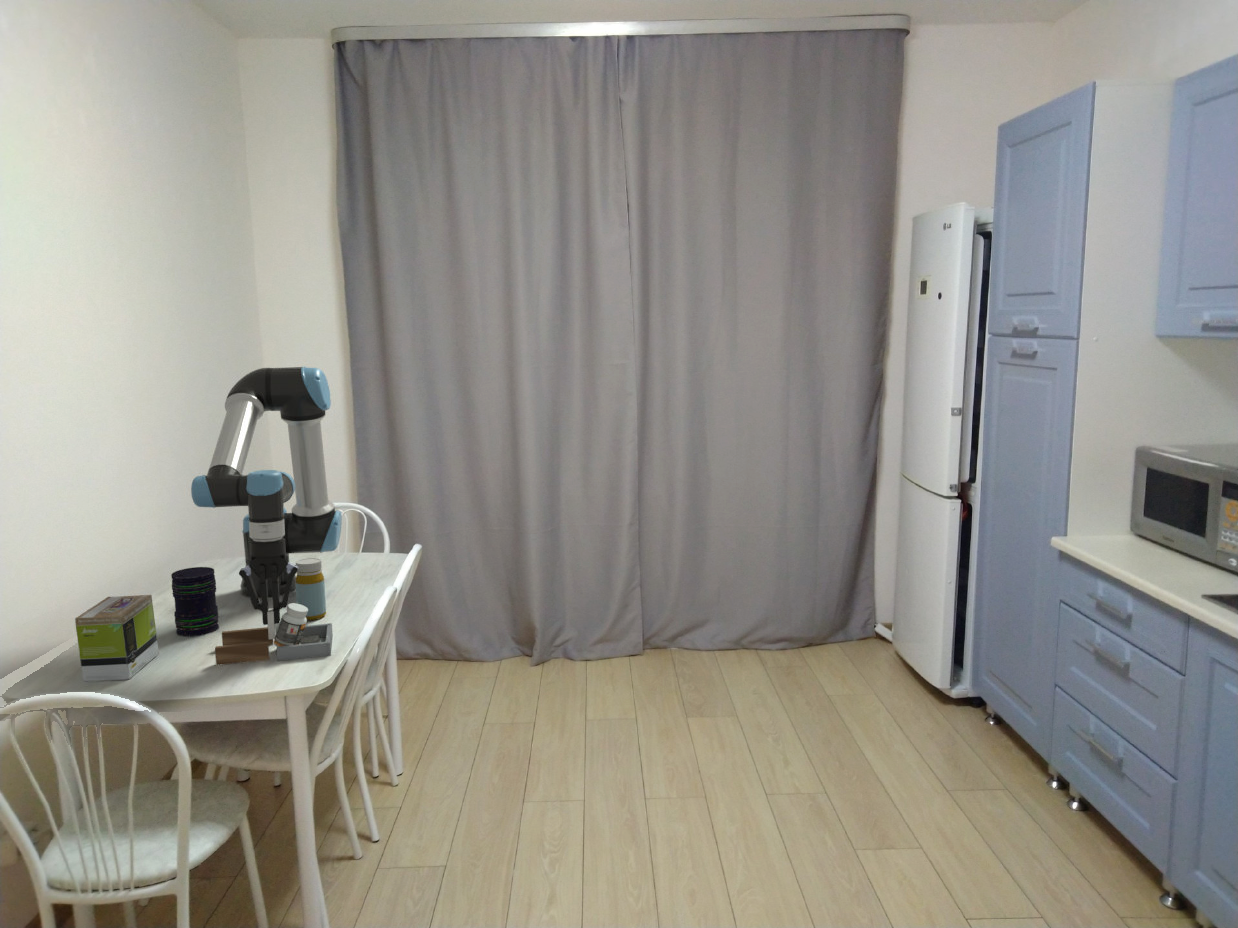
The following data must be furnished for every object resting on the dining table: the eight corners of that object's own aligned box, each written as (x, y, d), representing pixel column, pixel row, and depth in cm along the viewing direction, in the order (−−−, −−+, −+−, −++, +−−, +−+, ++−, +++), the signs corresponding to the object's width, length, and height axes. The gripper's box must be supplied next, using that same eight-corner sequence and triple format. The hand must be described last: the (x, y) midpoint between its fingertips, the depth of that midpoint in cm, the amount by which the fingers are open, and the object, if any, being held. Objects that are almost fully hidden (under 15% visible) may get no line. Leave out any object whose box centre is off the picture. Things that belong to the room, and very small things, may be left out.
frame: (282, 639, 212) (281, 627, 211) (332, 634, 215) (331, 623, 215) (277, 660, 199) (276, 648, 198) (330, 655, 202) (330, 642, 201)
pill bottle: (299, 653, 204) (312, 614, 203) (274, 649, 201) (287, 610, 200) (296, 642, 209) (309, 604, 208) (271, 638, 206) (284, 600, 205)
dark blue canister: (211, 620, 226) (206, 564, 224) (225, 629, 219) (221, 572, 217) (170, 630, 219) (164, 572, 217) (183, 639, 212) (178, 580, 210)
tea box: (114, 656, 202) (108, 594, 200) (160, 654, 203) (154, 593, 201) (80, 682, 187) (73, 616, 185) (129, 680, 188) (123, 614, 186)
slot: (223, 647, 207) (222, 631, 206) (273, 642, 210) (272, 626, 209) (216, 665, 196) (214, 648, 196) (268, 659, 199) (267, 642, 199)
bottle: (317, 621, 225) (313, 565, 222) (292, 620, 226) (288, 563, 224) (331, 613, 231) (327, 558, 229) (307, 611, 233) (303, 556, 230)
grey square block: (302, 647, 208) (301, 636, 207) (319, 645, 209) (319, 635, 209) (300, 652, 204) (300, 642, 204) (319, 651, 205) (318, 640, 205)
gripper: (234, 543, 195) (240, 645, 198) (296, 540, 199) (300, 640, 202) (239, 536, 202) (244, 634, 205) (298, 533, 206) (302, 629, 209)
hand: (272, 637), depth 204 cm, fingers closed
